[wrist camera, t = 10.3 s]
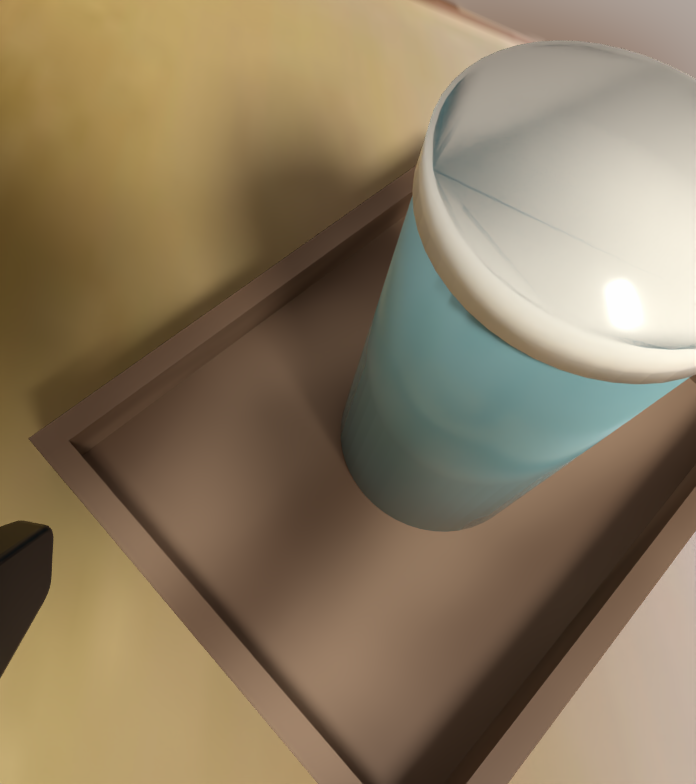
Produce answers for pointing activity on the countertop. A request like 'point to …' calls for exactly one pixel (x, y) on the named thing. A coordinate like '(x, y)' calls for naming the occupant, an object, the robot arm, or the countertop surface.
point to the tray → (365, 532)
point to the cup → (529, 281)
